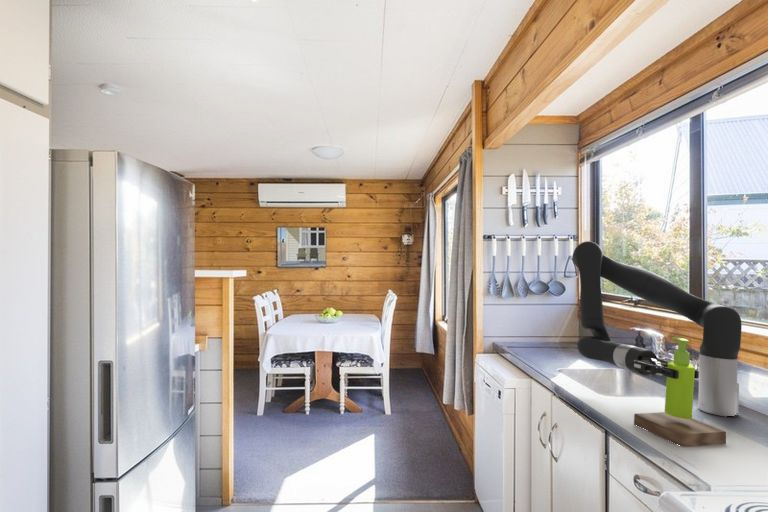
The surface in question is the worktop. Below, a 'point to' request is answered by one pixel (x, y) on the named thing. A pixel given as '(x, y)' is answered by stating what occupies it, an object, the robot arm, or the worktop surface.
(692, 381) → the soap dispenser
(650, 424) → the wooden cutting board
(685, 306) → the robot arm
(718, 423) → the worktop surface
